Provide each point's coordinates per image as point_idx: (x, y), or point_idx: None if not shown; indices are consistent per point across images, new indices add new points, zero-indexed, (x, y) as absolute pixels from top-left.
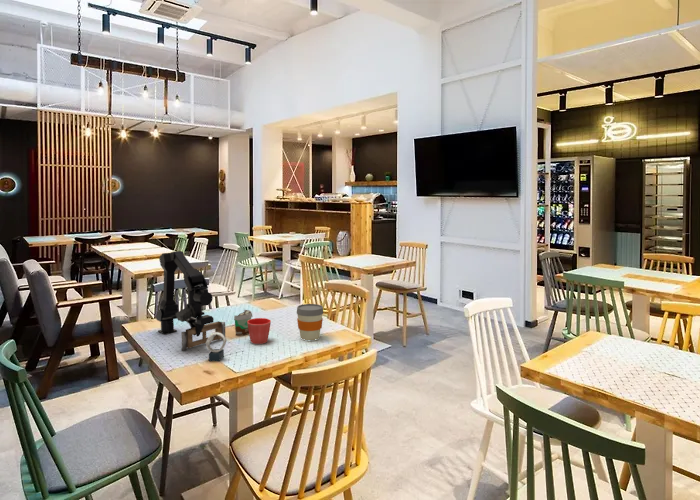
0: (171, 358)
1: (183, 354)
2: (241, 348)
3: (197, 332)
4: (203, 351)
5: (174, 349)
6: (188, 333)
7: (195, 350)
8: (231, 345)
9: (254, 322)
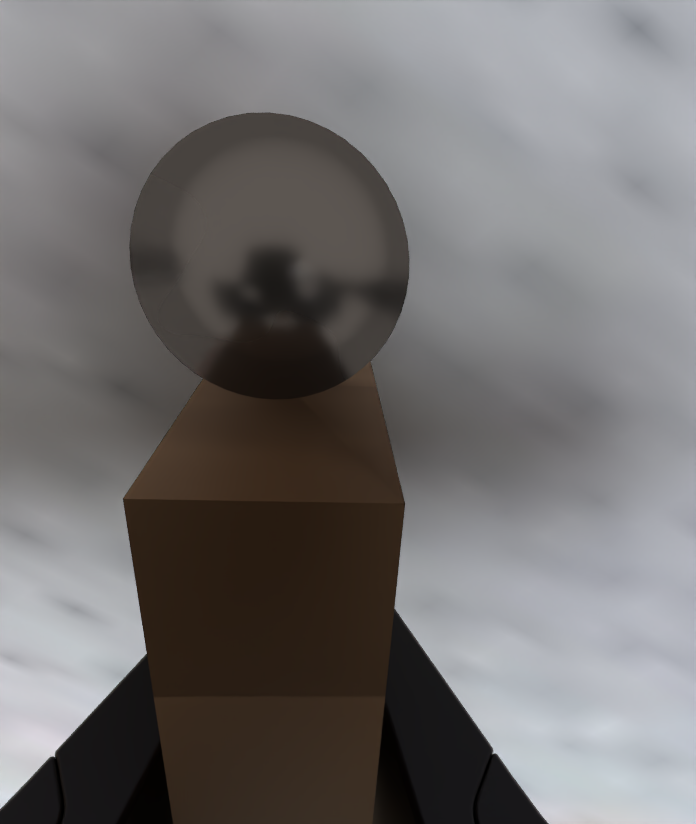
0: None
1: (85, 38)
2: None
3: (131, 684)
4: (4, 404)
5: (518, 110)
6: (178, 430)
7: (150, 347)
8: (7, 744)
9: None
